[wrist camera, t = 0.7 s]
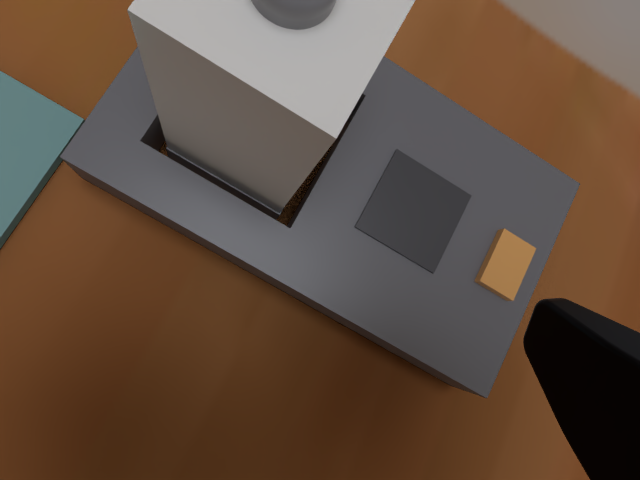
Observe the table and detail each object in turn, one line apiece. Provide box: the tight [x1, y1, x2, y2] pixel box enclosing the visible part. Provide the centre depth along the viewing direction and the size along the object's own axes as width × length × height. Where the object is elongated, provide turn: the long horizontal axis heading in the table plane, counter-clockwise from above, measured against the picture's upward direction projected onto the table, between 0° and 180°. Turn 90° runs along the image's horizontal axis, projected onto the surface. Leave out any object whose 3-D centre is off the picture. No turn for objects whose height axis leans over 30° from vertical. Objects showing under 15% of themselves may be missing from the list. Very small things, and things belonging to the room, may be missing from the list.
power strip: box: [60, 47, 580, 398], centre depth 20 cm, size 10×18×4 cm, turn 61°
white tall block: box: [127, 0, 415, 220], centre depth 16 cm, size 5×5×12 cm
